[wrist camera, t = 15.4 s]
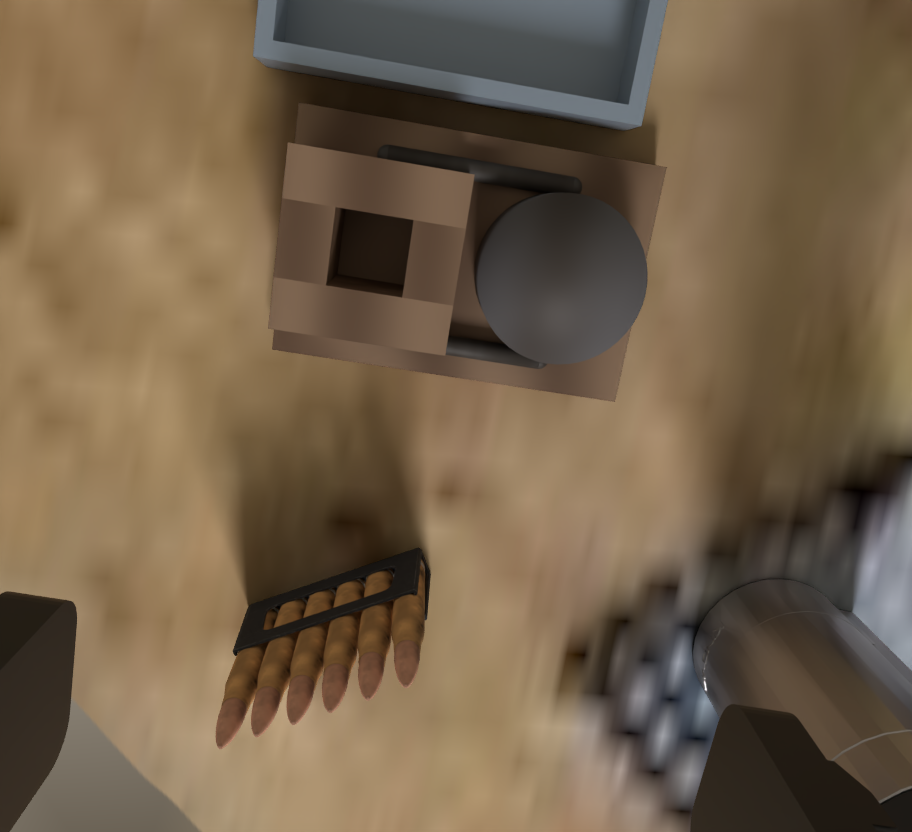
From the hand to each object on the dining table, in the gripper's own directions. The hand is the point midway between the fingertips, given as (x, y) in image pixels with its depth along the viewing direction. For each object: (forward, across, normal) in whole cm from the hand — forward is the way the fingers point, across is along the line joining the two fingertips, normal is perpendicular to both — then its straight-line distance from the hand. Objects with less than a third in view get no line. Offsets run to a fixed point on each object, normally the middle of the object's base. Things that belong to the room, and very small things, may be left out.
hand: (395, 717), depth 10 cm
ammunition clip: (+36, +2, +16) cm, 39 cm away
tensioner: (+35, -1, -4) cm, 35 cm away
